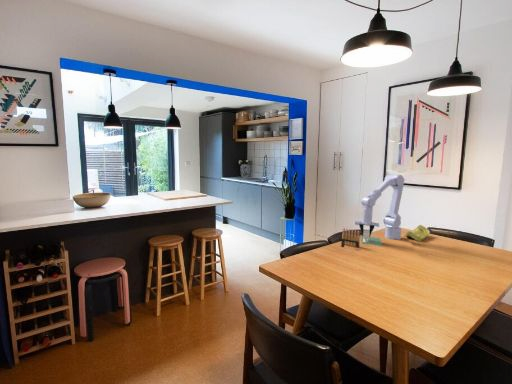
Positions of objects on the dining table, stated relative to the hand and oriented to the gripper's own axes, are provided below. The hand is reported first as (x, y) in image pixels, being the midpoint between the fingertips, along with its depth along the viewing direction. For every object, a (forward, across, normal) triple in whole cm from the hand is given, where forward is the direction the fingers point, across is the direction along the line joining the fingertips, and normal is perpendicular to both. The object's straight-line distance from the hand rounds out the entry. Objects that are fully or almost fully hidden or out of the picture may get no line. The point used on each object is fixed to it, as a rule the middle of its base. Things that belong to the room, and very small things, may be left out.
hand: (365, 236), depth 187 cm
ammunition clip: (+5, -10, -14) cm, 18 cm away
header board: (+4, +4, +1) cm, 6 cm away
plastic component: (+5, +35, +26) cm, 44 cm away
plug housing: (+1, 0, 0) cm, 1 cm away
